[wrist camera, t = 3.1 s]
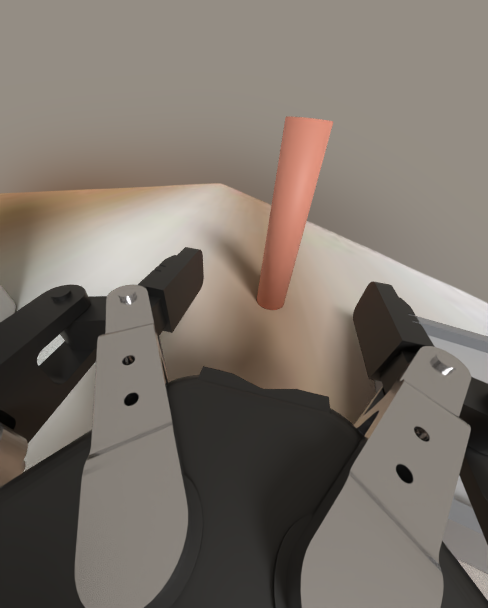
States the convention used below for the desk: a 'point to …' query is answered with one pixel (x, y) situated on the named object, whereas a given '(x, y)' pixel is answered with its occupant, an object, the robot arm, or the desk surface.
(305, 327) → the desk surface
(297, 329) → the desk surface
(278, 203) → the peg
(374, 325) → the robot arm
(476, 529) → the grey square hole base
